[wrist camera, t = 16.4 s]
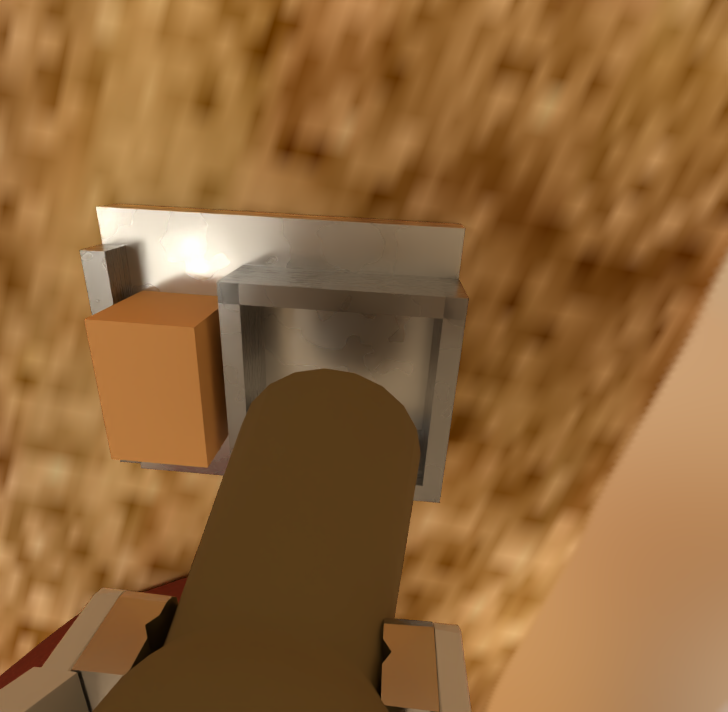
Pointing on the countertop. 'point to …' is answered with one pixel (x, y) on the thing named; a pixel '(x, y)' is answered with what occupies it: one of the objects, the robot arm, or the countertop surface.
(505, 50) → the countertop surface
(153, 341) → the bracket block
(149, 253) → the grey tray with frame
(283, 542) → the cork
